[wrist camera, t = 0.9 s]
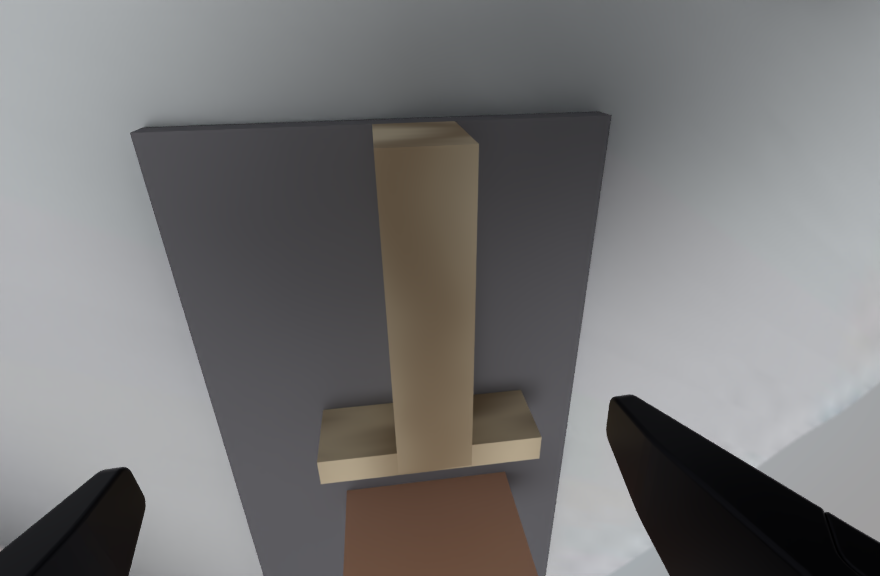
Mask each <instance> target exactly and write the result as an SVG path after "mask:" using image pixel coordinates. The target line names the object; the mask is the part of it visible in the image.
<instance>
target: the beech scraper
mask: <svg viewBox="0 0 880 576" xmlns="http://www.w3.org/2000/svg"><path fill="white" fill-rule="evenodd" d="M372 131H373V146H374V160H375V173H376V186H377V199H378V212H379V225H380V238H381V251H382V264H383V277H384V290H385V304H386V317H387V330H388V343H389V356H390V369H391V382H392V395H393V403H387V404H377V405H367V406H357V407H347V408H338V409H328V410H323V415H322V424H321V432H320V441H319V449H318V458H317V466H318V471H319V476H320V482H321V484H327V483H336V482H344V481H353V480H361V479H370V478H378V477H386V476H395V475H403V474H412V473H420V472H429V471H437V470H446V469H454V468H463V467H471V466H480V465H488V464H497V463H505V462H513V461H522V460H530V459H539V456H540V447H541V439H542V437H541V435H540V432H539V430H538V428H537V425H536V423H535V421H534V419H533V416H532V414H531V412H530V409H529V407H528V405H527V403H526V400H525V398H524V396H523V393H522V391H521V390H515V391H506V392H496V393H486V394H476V395H473V386H474V342H475V298H476V254H477V211H478V167H479V144H478V143H477V142H476V141H475V140H474V139H473V138H472V137H471V136H470V135H469V134H468V133H467V132H466V131H465V130H464V129H463V128H462V127H461V126H459V125H458V124H457V123H456V122H455V121H445V122H417V123H390V124H372Z"/></svg>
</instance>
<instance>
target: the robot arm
mask: <svg viewBox="0 0 880 576" xmlns="http://www.w3.org/2000/svg"><path fill="white" fill-rule="evenodd" d="M606 432H607V437H608V441H609V443H610V446H611V448H612V451H613V453H614V456H615V458H616V461H617V463H618V466H619V469H620V471H621V474H622V476H623V479H624V481H625V484H626V486H627V489H628V491H629V494H630V496H631V499H632V501H633V504H634V506H635V508H636V511H637V513H638V515H639V517H640V519H641V521H642V523H643V525H644V527H645V529H646V531H647V533H648V535H649V537H650V539H651V541H652V543H653V544H654V546H655V548H656V550H657V552H658V554H659V556H660V558H661V560H662V562H663V563H664V565H665V567H666V569H667V571H668V573H669V575H670V576H880V542H878V541H876V540H875V539H873V538H871V537H869V536H868V535H866V534H864V533H863V532H861V531H859V530H857V529H856V528H854V527H852V526H851V525H849V524H847V523H846V522H844V521H842V520H841V519H839V518H837V517H836V516H834V515H832V514H831V513H829V512H825V513H824V511H823V509H822V508H821V507H819V506H817V505H815V504H814V503H812V502H810V501H809V500H807V499H806V498H804V497H802V496H801V495H799V494H797V493H796V492H794V491H792V490H791V489H789V488H787V487H786V486H784V485H782V484H781V483H779V482H777V481H776V480H774V479H772V478H771V477H769V476H767V475H766V474H764V473H762V472H761V471H759V470H757V469H756V468H754V467H753V466H751V465H749V464H748V463H746V462H744V461H743V460H741V459H739V458H738V457H736V456H734V455H733V454H731V453H729V452H728V451H726V450H724V449H723V448H721V447H719V446H718V445H716V444H714V443H713V442H711V441H709V440H708V439H706V438H704V437H703V436H701V435H699V434H698V433H696V432H694V431H693V430H691V429H689V428H688V427H686V426H684V425H683V424H681V423H680V422H678V421H676V420H675V419H673V418H671V417H670V416H668V415H666V414H665V413H663V412H661V411H660V410H658V409H656V408H655V407H653V406H651V405H650V404H648V403H646V402H645V401H643V400H641V399H640V398H638V397H636V396H634V395H623V396H616V397H613V398H612V399H611V400H610V404H609V411H608V419H607V427H606ZM144 512H145V498H144V495H143V493H142V491H141V489H140V487H139V486H138V484H137V482H136V480H135V478H134V476H133V474H132V472H131V471H130V470H129V469H128V468H126V467H119V468H112V469H105V470H102V471H100V472H98V473H97V474H95V475H94V476H93V477H92V478H91V479H89V480H88V481H87V482H86V483H84V484H83V485H82V486H81V487H79V488H78V489H77V490H76V491H75V492H73V493H72V494H71V495H70V496H68V497H67V498H66V499H65V500H63V501H62V502H61V503H60V504H58V505H57V506H56V507H55V508H54V509H52V510H51V511H50V512H49V513H47V514H46V515H45V516H44V517H42V518H41V519H40V520H39V521H38V522H36V523H35V524H34V525H33V526H31V527H30V528H29V529H28V530H26V531H25V532H24V533H23V534H22V535H20V536H19V537H18V538H17V539H15V540H14V541H13V542H12V543H10V544H9V545H8V546H7V547H5V548H4V549H3V550H2V551H1V552H0V576H128V575H129V571H130V568H131V564H132V560H133V556H134V552H135V548H136V544H137V540H138V536H139V532H140V528H141V524H142V520H143V516H144Z"/></svg>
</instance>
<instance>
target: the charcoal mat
mask: <svg viewBox="0 0 880 576" xmlns="http://www.w3.org/2000/svg"><path fill="white" fill-rule="evenodd" d="M445 121H455V122H456V123H457V124H458V125H459V126H461V127H462V128H463V129H464V130H465V131H466V132H467V133H468V134H469V135H470V136H471V137H472V138H473V139H474V140H475V141H476V142H477V143H478V144H479V167H478V211H477V254H476V298H475V342H474V386H473V395H476V394H486V393H496V392H506V391H515V390H521V391H522V393H523V396H524V398H525V400H526V403H527V405H528V407H529V409H530V412H531V414H532V416H533V419H534V421H535V423H536V425H537V428H538V430H539V432H540V435H541V437H542V439H541V447H540V456H539V459H530V460H522V461H513V462H505V463H497V464H488V465H480V466H471V467H463V468H454V469H446V470H437V471H429V472H420V473H412V474H403V475H395V476H386V477H378V478H370V479H361V480H353V481H344V482H336V483H327V484H321V482H320V476H319V471H318V466H317V458H318V449H319V441H320V432H321V424H322V415H323V410H328V409H338V408H347V407H357V406H367V405H377V404H387V403H393V395H392V382H391V369H390V356H389V343H388V330H387V317H386V304H385V290H384V277H383V264H382V251H381V238H380V225H379V212H378V199H377V186H376V173H375V160H374V146H373V131H372V124H390V123H417V122H445ZM610 121H611V115H608V114H605V113H602V112H575V113H546V114H518V115H489V116H461V117H432V118H404V119H375V120H347V121H318V122H290V123H261V124H233V125H204V126H176V127H147V128H141V129H138V130H136V131H133V132H131V133H130V134H131V138H132V141H133V144H134V148H135V151H136V154H137V157H138V161H139V164H140V167H141V171H142V174H143V177H144V181H145V184H146V187H147V191H148V194H149V197H150V201H151V204H152V207H153V211H154V214H155V217H156V220H157V224H158V227H159V230H160V234H161V237H162V240H163V244H164V247H165V250H166V254H167V257H168V260H169V264H170V267H171V270H172V273H173V277H174V280H175V283H176V287H177V290H178V293H179V297H180V300H181V303H182V307H183V310H184V313H185V317H186V320H187V323H188V326H189V330H190V333H191V336H192V340H193V343H194V346H195V350H196V353H197V356H198V360H199V363H200V366H201V370H202V373H203V376H204V379H205V383H206V386H207V389H208V393H209V396H210V399H211V403H212V406H213V409H214V413H215V416H216V419H217V423H218V426H219V429H220V433H221V436H222V439H223V442H224V446H225V449H226V452H227V456H228V459H229V462H230V466H231V469H232V472H233V476H234V479H235V482H236V486H237V489H238V492H239V495H240V499H241V502H242V505H243V509H244V512H245V515H246V519H247V522H248V525H249V529H250V532H251V535H252V539H253V542H254V545H255V548H256V552H257V555H258V558H259V562H260V565H261V568H262V572H263V575H264V576H343V568H344V545H345V522H346V499H347V491H348V490H356V489H365V488H373V487H381V486H390V485H398V484H406V483H414V482H423V481H431V480H439V479H448V478H456V477H464V476H473V475H481V474H489V473H498V472H505V473H506V477H507V480H508V483H509V486H510V489H511V492H512V495H513V498H514V502H515V505H516V508H517V511H518V514H519V517H520V520H521V524H522V527H523V530H524V533H525V536H526V539H527V542H528V546H529V549H530V552H531V555H532V558H533V561H534V564H535V568H536V571H537V574H538V576H545V575H546V568H547V561H548V554H549V547H550V540H551V533H552V526H553V519H554V512H555V505H556V498H557V491H558V484H559V477H560V470H561V463H562V456H563V449H564V442H565V436H566V429H567V422H568V415H569V408H570V401H571V394H572V387H573V380H574V373H575V366H576V359H577V352H578V345H579V338H580V331H581V324H582V317H583V310H584V303H585V296H586V289H587V282H588V275H589V268H590V261H591V254H592V247H593V240H594V233H595V226H596V219H597V212H598V205H599V198H600V191H601V184H602V177H603V170H604V163H605V156H606V149H607V142H608V135H609V128H610Z"/></svg>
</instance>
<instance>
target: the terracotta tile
mask: <svg viewBox="0 0 880 576" xmlns="http://www.w3.org/2000/svg"><path fill="white" fill-rule="evenodd" d="M343 576H538V574H537V571H536V568H535V564H534V561H533V558H532V555H531V552H530V549H529V546H528V542H527V539H526V536H525V533H524V530H523V527H522V524H521V520H520V517H519V514H518V511H517V508H516V505H515V502H514V498H513V495H512V492H511V489H510V486H509V483H508V480H507V477H506V473H505V472H498V473H489V474H481V475H473V476H464V477H456V478H448V479H439V480H431V481H423V482H414V483H406V484H398V485H390V486H381V487H373V488H365V489H356V490H348V491H347V499H346V522H345V545H344V568H343Z"/></svg>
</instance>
